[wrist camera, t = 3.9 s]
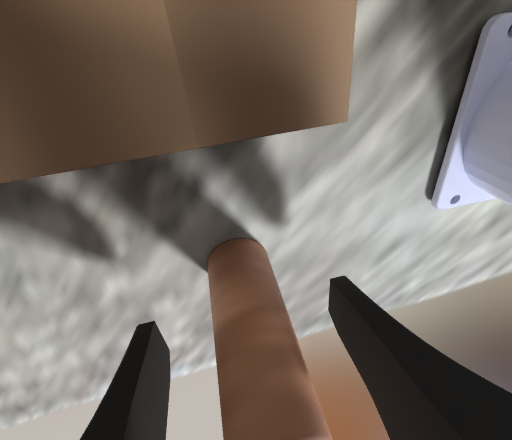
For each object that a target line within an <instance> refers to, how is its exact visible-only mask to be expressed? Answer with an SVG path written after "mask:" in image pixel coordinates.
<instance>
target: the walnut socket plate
mask: <svg viewBox="0 0 512 440" xmlns="http://www.w3.org/2000/svg"><path fill="white" fill-rule="evenodd" d="M356 6H357V0H0V183H6V182H12V181H17V180H23V179H28V178H34V177H40V176H45V175H51V174H56V173H62V172H68V171H73V170H79V169H84V168H90V167H96V166H101V165H107V164H112V163H118V162H124V161H129V160H135V159H140V158H146V157H152V156H157V155H163V154H169V153H174V152H180V151H185V150H191V149H197V148H202V147H208V146H213V145H219V144H225V143H230V142H236V141H241V140H247V139H253V138H258V137H264V136H269V135H275V134H281V133H286V132H292V131H297V130H303V129H309V128H314V127H320V126H325V125H331V124H337V123H342V122H347V121H348V109H349V96H350V83H351V70H352V58H353V45H354V32H355V19H356Z"/></svg>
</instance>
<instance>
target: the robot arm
mask: <svg viewBox="0 0 512 440" xmlns="http://www.w3.org/2000/svg"><path fill="white" fill-rule="evenodd" d="M511 25H512V12H508V13H501V14H497V15H495V16H493V17H492V18H491V19H489V20H488V21H487V23H486V24H485V26H484V27H483V30H482V32H481V35H480V38H479V42H478V45H477V48H476V52H475V55H474V59H473V62H472V65H471V69H470V72H469V75H468V79H467V82H466V86H465V89H464V92H463V96H462V99H461V103H460V106H459V109H458V113H457V116H456V120H455V123H454V126H453V130H452V133H451V137H450V140H449V143H448V147H447V150H446V153H445V157H444V160H443V164H442V167H441V170H440V174H439V177H438V181H437V184H436V187H435V191H434V194H433V198H432V205H433V206H434V207H435V208H437V209H439V210H443V209H448V208H452V207H457V206H461V205H466V204H470V203H475V202H480V201H484V200H489V199H493V198H498V199H500V200H502V201H503V202H505V203H507V204H509V205H510V206H512V27H511V30H510V32H509V33H508V30H509V28H510V26H511ZM328 310H329V313H330V315H331V318H332V320H333V323H334V325H335V328H336V330H337V333H338V335H339V336H340V338H341V340H342V342H343V343H344V346H345V348H346V350H347V351H348V353H349V355H350V357H351V359H352V361H353V362H354V364H355V366H356V368H357V369H358V372H359V373H360V375H361V377H362V379H363V381H364V383H365V384H366V386H367V388H368V390H369V392H370V394H371V396H372V399H373V401H374V403H375V405H376V408H377V410H378V412H379V415H380V417H381V419H382V421H383V424H384V426H385V428H386V431H387V433H388V436H389V438H390V440H512V393H510V392H508V391H506V390H504V389H503V388H501V387H499V386H497V385H495V384H493V383H491V382H490V381H488V380H486V379H484V378H482V377H481V376H479V375H477V374H476V373H474V372H472V371H470V370H469V369H467V368H465V367H464V366H462V365H460V364H459V363H457V362H455V361H454V360H452V359H451V358H449V357H447V356H446V355H444V354H443V353H441V352H440V351H438V350H437V349H435V348H434V347H432V346H431V345H429V344H428V343H426V342H425V341H423V340H422V339H421V338H419V337H418V336H416V335H415V334H414V333H412V332H411V331H409V330H408V329H407V328H406V327H404V326H403V325H402V324H400V323H399V322H398V321H397V320H395V319H394V318H393V317H392V316H390V315H389V314H388V313H387V312H386V311H384V310H383V309H382V308H381V307H379V306H378V305H377V304H376V303H375V302H374V301H372V300H371V299H370V298H369V297H368V296H367V295H366V294H364V293H363V292H362V291H361V290H360V289H359V288H358V287H357V286H356V285H355V284H353V283H352V282H351V281H350V280H349V279H348V278H347V277H346V276H340V277H336V278H332V279H330V292H329V307H328ZM169 389H170V352H169V348H168V346H167V344H166V342H165V340H164V338H163V337H162V335H161V333H160V331H159V329H158V327H157V325H156V323H155V321H152V322H148V323H144V324H140V325H138V326H137V327H136V330H135V332H134V334H133V337H132V339H131V341H130V344H129V346H128V348H127V351H126V353H125V355H124V357H123V359H122V361H121V364H120V366H119V368H118V370H117V372H116V374H115V376H114V378H113V380H112V382H111V384H110V386H109V388H108V390H107V392H106V394H105V396H104V398H103V399H102V401H101V403H100V405H99V407H98V409H97V411H96V412H95V414H94V416H93V418H92V420H91V421H90V423H89V425H88V427H87V428H86V430H85V432H84V433H83V435H82V437H81V438H80V440H166V427H167V415H168V402H169Z"/></svg>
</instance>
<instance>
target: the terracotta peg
mask: <svg viewBox="0 0 512 440" xmlns="http://www.w3.org/2000/svg"><path fill="white" fill-rule="evenodd" d="M207 266H208V277H209V288H210V298H211V309H212V320H213V331H214V341H215V352H216V363H217V373H218V384H219V395H220V405H221V416H222V427H223V438H224V440H333V439H332V437H331V434H330V431H329V428H328V425H327V423H326V420H325V417H324V414H323V411H322V408H321V406H320V403H319V400H318V397H317V394H316V392H315V389H314V386H313V383H312V380H311V378H310V375H309V372H308V369H307V366H306V364H305V360H304V358H303V356H302V352H301V349H300V346H299V344H298V341H297V338H296V335H295V332H294V329H293V327H292V324H291V321H290V318H289V315H288V312H287V310H286V307H285V304H284V301H283V298H282V295H281V293H280V290H279V287H278V284H277V281H276V279H275V276H274V273H273V270H272V267H271V264H270V262H269V259H268V256H267V253H266V251H265V249H264V247H263V246H262V245H261V244H260V243H258V242H256V241H254V240H251V239H246V238H237V239H232V240H228V241H226V242H224V243H222V244H220V245H219V246H217V247H216V248H215V249H214V250H213V251H212V253H211V254H210V256H209V258H208V263H207Z"/></svg>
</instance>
